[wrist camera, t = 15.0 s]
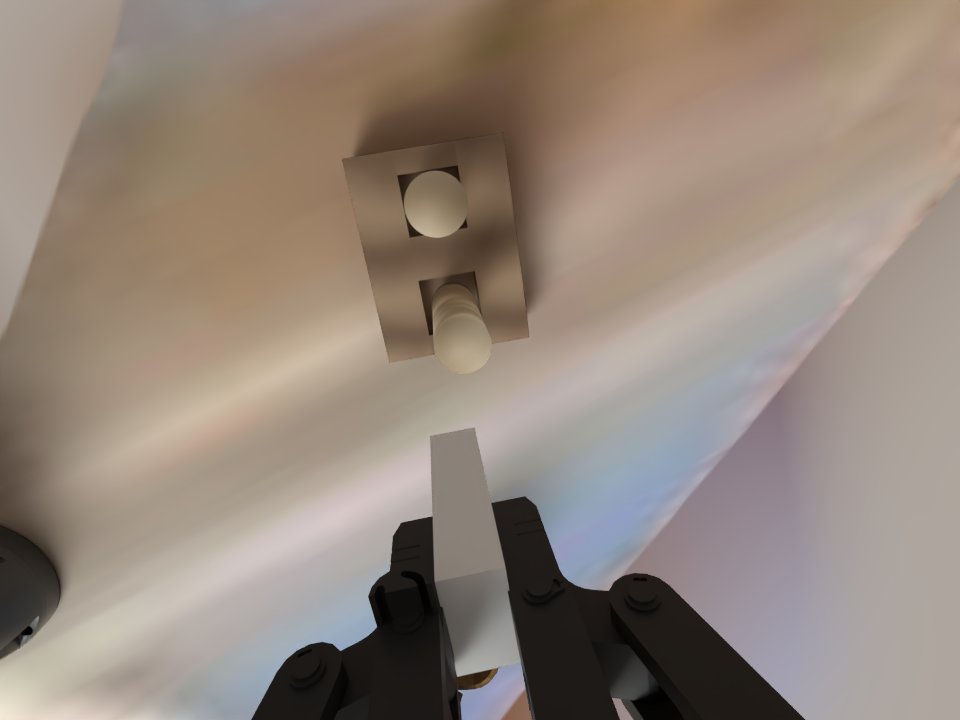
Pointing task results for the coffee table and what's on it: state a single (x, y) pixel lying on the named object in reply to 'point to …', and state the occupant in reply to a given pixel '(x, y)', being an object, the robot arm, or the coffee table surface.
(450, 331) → the beech peg
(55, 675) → the coffee table surface
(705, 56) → the coffee table surface
